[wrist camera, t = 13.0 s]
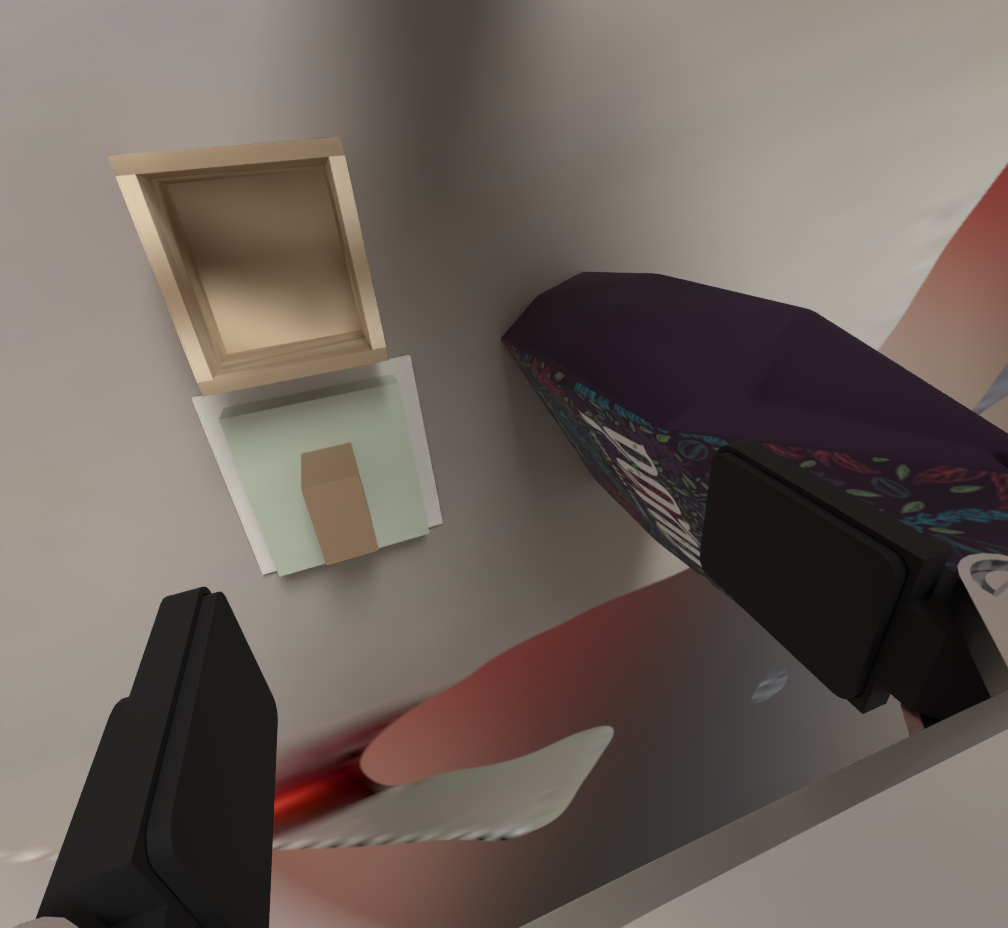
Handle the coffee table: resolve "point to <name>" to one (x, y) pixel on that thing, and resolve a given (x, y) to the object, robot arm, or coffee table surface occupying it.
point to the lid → (328, 471)
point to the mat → (214, 404)
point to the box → (257, 258)
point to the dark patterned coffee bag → (751, 408)
